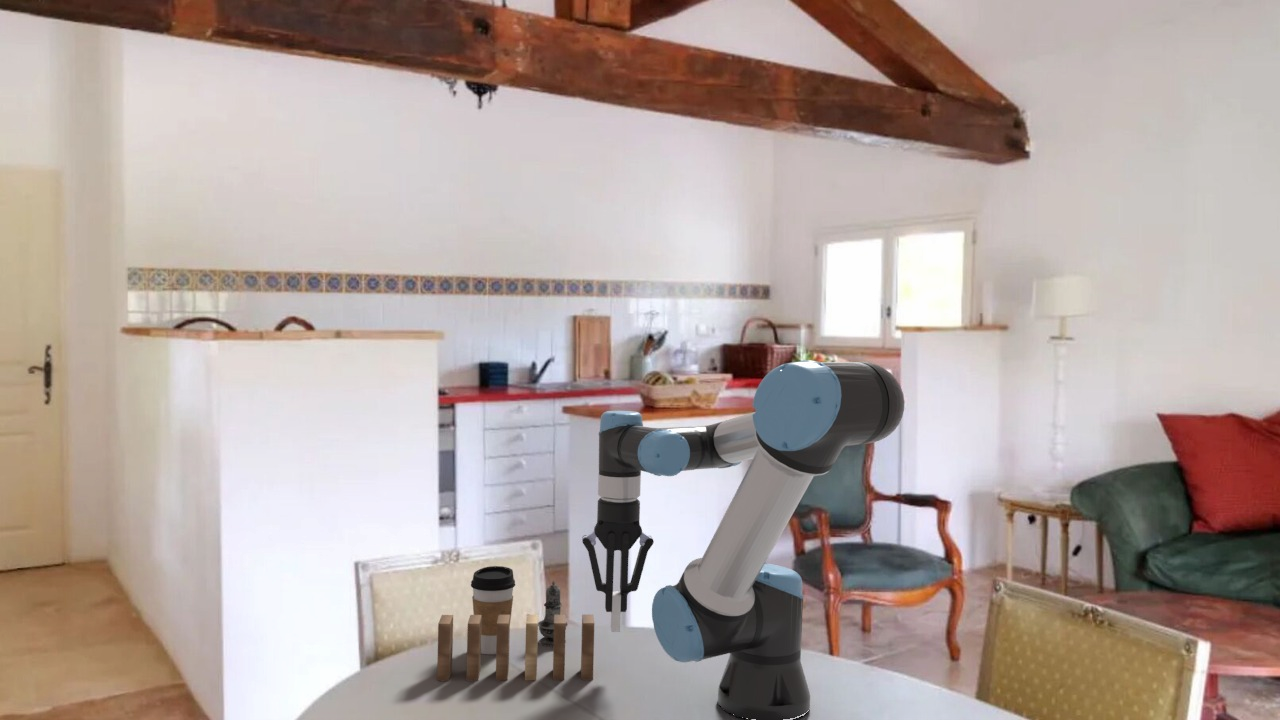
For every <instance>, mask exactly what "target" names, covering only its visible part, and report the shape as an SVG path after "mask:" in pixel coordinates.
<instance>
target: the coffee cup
mask: <svg viewBox="0 0 1280 720" xmlns="http://www.w3.org/2000/svg"><path fill="white" fill-rule="evenodd" d="M515 586H516V580H515V578H514V571H513V569H512V568H510V567H507V566H501V565H491V566H485V567H481V568H480V569H478V570H476V571H474V572H473V575H472V580H471V581H470V587H471V588H472V597H471V598H472V609H473V610H472V611H473V612H472V613H473V615H482V622H481V655H482V654H483V655H496V644H497V621H498V616H499V615H510V621H511V620H512V611H513V602H514V595H513V591H514V587H515Z"/></svg>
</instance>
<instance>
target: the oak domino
mask: <svg viewBox="0 0 1280 720" xmlns="http://www.w3.org/2000/svg"><path fill="white" fill-rule="evenodd" d="M538 622H539V614H526V621H525V650H524V651H525V654H524V657H525V658H524V660H525V661H524V681H537V676H538V675H537V673H538V643H539V639H538V633H539V632H538V631H539V626H538Z"/></svg>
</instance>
